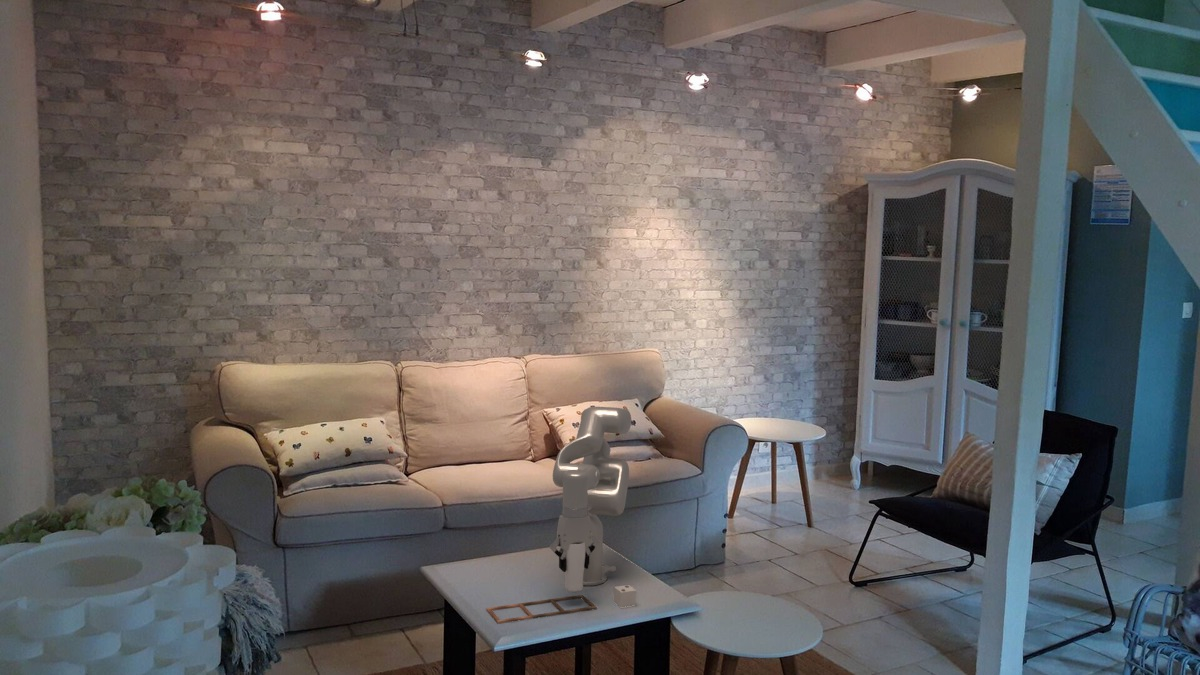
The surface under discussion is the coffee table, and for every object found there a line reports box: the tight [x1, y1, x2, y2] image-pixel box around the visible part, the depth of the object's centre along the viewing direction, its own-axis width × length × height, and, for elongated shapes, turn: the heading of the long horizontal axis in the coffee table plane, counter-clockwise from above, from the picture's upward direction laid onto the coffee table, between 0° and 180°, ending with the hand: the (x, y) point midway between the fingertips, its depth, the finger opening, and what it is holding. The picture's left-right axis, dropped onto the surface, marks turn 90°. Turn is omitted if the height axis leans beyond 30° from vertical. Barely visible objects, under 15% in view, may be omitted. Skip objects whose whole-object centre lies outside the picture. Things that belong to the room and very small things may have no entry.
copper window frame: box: [485, 594, 598, 624], centre depth 271 cm, size 31×11×1 cm, turn 114°
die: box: [613, 584, 637, 608], centre depth 276 cm, size 5×5×5 cm
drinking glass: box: [564, 542, 586, 592], centre depth 275 cm, size 7×7×15 cm
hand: (574, 568), depth 275 cm, fingers closed on drinking glass, 6 cm apart
